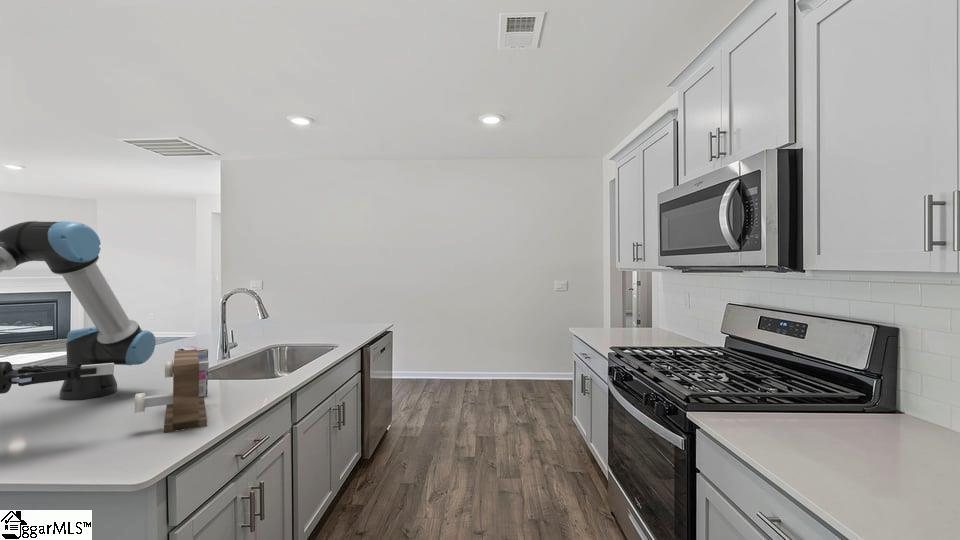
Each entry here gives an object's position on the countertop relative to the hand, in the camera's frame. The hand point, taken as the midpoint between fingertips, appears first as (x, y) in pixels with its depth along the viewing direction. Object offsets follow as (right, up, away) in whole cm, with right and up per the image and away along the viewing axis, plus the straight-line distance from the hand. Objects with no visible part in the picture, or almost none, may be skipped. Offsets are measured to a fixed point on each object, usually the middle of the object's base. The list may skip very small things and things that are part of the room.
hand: (113, 368), depth 119 cm
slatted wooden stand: (+9, -18, +16) cm, 26 cm away
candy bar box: (-3, -18, +37) cm, 41 cm away
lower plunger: (+8, -13, +6) cm, 16 cm away
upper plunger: (+4, -7, +24) cm, 25 cm away
